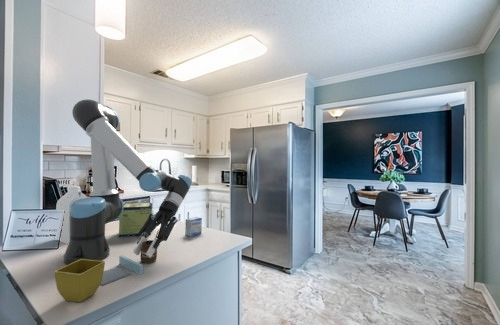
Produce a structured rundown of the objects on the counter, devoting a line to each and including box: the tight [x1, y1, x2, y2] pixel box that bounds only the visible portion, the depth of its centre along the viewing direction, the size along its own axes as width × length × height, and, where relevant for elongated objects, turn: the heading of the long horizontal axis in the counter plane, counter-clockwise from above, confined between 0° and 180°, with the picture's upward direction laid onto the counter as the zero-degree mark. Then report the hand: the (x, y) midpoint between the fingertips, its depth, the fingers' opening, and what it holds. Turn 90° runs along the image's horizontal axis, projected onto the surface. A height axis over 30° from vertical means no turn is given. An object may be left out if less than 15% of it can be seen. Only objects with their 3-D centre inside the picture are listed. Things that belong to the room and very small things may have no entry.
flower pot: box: [53, 259, 106, 303], centre depth 68 cm, size 9×9×9 cm
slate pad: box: [99, 266, 131, 287], centre depth 80 cm, size 9×9×1 cm
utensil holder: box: [140, 228, 160, 264], centre depth 93 cm, size 6×6×12 cm
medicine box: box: [184, 216, 203, 237], centre depth 128 cm, size 8×4×9 cm, turn 146°
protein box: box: [118, 202, 153, 238], centre depth 127 cm, size 10×16×16 cm
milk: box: [55, 185, 88, 245], centre depth 117 cm, size 12×12×26 cm
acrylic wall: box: [118, 255, 144, 275], centre depth 86 cm, size 14×1×3 cm, turn 56°
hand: (141, 254), depth 90 cm, fingers closed on utensil holder, 5 cm apart
